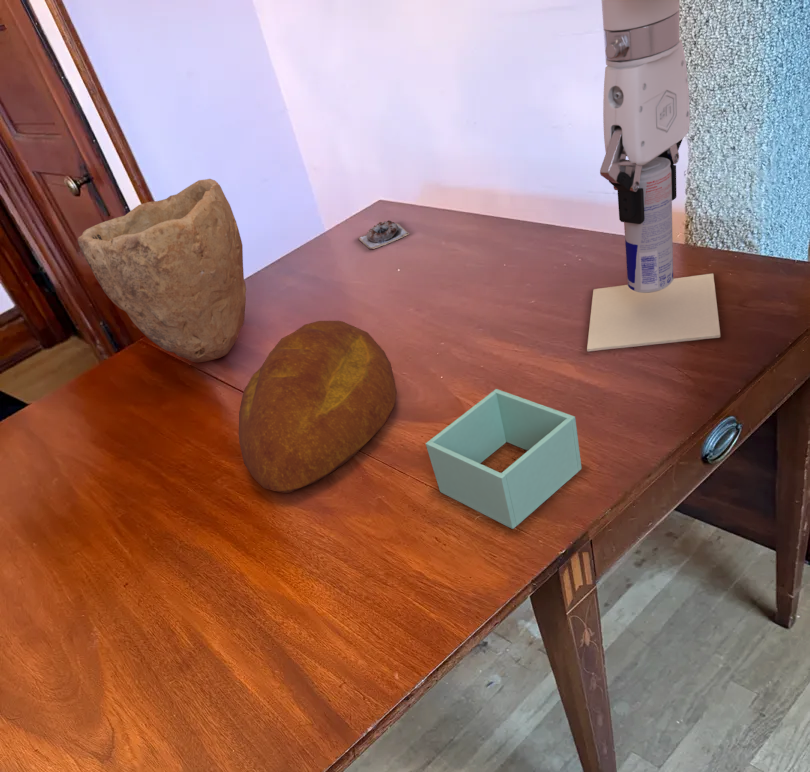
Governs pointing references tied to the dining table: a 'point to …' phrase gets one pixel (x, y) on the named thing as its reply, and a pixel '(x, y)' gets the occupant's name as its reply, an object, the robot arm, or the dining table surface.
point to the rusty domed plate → (383, 234)
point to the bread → (314, 404)
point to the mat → (654, 314)
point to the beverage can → (651, 231)
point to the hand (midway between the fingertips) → (648, 208)
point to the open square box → (524, 479)
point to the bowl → (175, 270)
